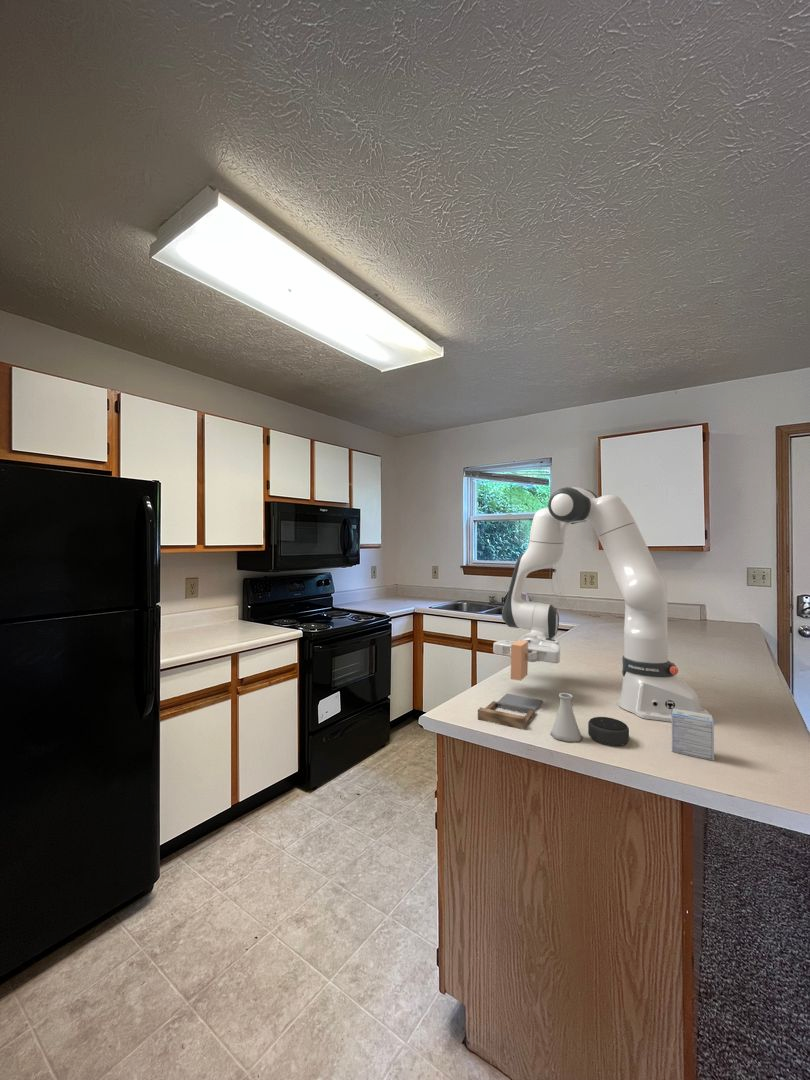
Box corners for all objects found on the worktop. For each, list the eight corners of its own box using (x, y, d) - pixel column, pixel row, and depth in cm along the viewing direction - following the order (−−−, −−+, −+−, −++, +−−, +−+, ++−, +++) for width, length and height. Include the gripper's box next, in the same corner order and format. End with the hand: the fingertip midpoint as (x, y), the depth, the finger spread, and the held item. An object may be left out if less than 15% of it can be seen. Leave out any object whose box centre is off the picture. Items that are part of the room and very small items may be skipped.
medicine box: (713, 753, 97) (712, 714, 98) (714, 761, 94) (714, 721, 94) (671, 744, 102) (671, 707, 102) (671, 752, 98) (671, 713, 98)
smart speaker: (602, 728, 111) (602, 713, 111) (636, 742, 103) (636, 725, 103) (580, 736, 106) (580, 720, 106) (615, 751, 99) (615, 733, 99)
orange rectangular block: (527, 674, 131) (527, 641, 131) (520, 680, 125) (521, 645, 125) (517, 673, 133) (518, 640, 133) (510, 678, 127) (511, 644, 127)
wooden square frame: (535, 713, 120) (535, 704, 120) (523, 729, 110) (523, 719, 110) (493, 705, 126) (493, 696, 126) (477, 719, 116) (477, 709, 116)
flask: (584, 744, 102) (584, 701, 102) (552, 741, 103) (552, 698, 103) (578, 731, 109) (578, 691, 109) (548, 729, 110) (548, 689, 110)
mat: (542, 701, 130) (542, 700, 130) (535, 711, 122) (535, 709, 122) (506, 695, 135) (506, 693, 135) (497, 703, 128) (497, 702, 128)
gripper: (500, 633, 146) (486, 641, 134) (564, 641, 136) (554, 650, 124) (500, 652, 146) (486, 661, 134) (564, 661, 136) (554, 672, 124)
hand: (519, 656), depth 129 cm, fingers closed on orange rectangular block, 3 cm apart
